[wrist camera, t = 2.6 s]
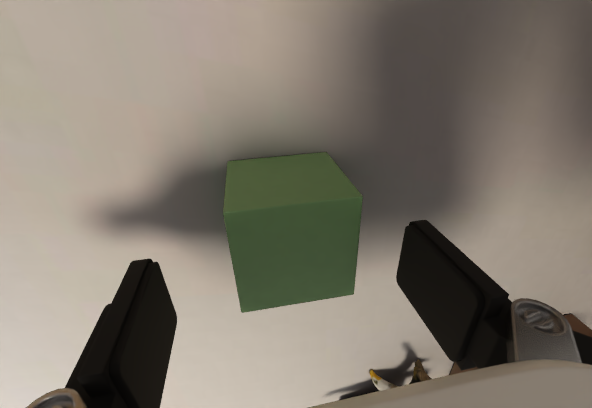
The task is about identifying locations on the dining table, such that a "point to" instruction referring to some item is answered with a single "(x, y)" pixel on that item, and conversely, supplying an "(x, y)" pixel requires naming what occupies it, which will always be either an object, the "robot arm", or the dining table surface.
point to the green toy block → (291, 229)
